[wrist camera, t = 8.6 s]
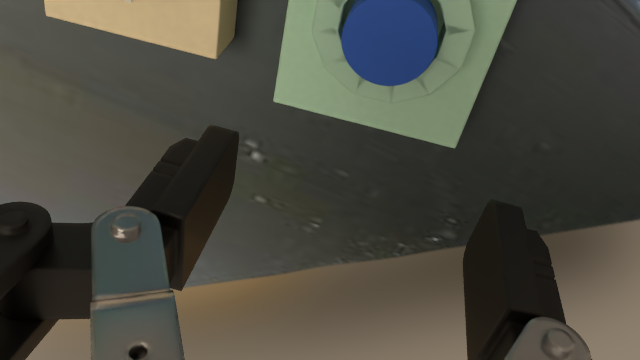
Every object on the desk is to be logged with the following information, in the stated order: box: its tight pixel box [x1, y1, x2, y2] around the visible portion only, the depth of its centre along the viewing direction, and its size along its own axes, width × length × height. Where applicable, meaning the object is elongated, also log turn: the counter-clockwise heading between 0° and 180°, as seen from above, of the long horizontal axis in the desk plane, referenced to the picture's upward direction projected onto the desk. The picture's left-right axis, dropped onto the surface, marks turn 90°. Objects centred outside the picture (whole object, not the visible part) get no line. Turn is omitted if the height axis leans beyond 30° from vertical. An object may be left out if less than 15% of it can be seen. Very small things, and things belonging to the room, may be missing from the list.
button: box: [341, 0, 438, 86], centre depth 23 cm, size 4×4×2 cm
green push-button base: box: [273, 0, 517, 148], centre depth 25 cm, size 12×10×4 cm
